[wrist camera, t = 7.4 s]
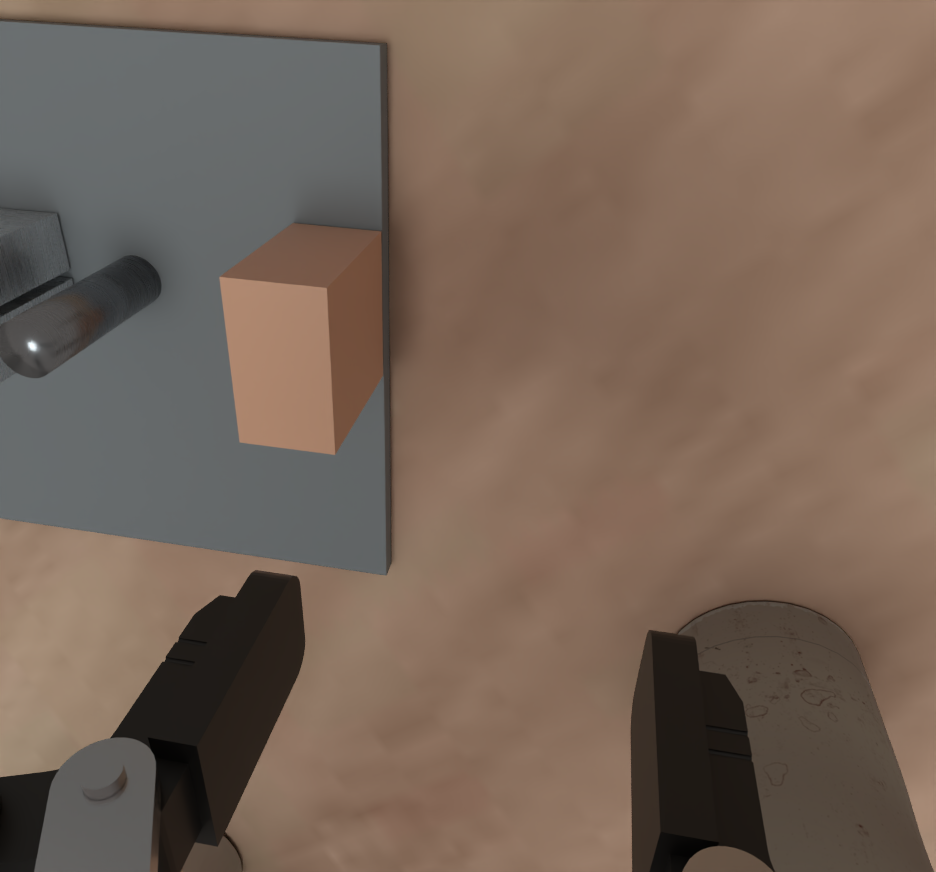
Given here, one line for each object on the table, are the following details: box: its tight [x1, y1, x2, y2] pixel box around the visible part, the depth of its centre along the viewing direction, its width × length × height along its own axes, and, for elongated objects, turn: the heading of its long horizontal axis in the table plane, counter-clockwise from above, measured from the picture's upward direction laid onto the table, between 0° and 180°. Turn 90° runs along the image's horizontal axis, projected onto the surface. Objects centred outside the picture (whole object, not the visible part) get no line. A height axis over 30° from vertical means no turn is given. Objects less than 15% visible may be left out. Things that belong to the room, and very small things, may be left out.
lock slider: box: [219, 223, 383, 455], centre depth 24 cm, size 3×5×6 cm, turn 177°
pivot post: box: [0, 255, 162, 378], centre depth 25 cm, size 2×2×6 cm
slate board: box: [0, 19, 391, 575], centre depth 29 cm, size 20×24×1 cm
